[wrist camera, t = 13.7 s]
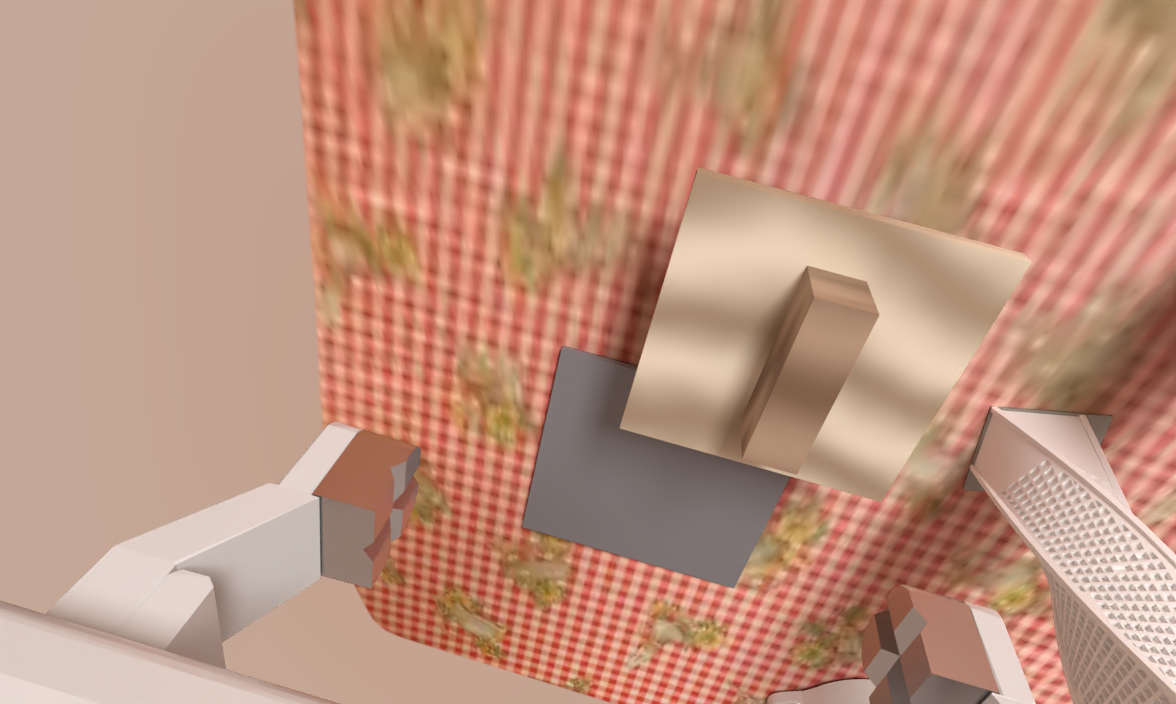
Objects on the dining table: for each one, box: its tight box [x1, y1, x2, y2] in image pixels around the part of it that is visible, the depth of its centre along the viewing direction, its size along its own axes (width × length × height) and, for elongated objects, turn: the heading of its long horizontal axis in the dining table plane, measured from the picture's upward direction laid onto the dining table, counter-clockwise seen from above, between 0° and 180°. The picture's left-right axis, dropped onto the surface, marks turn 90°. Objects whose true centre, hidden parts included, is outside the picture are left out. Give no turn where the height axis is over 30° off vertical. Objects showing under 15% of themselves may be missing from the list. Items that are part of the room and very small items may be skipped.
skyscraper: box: [963, 406, 1176, 704], centre depth 33 cm, size 8×8×28 cm
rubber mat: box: [522, 346, 791, 588], centre depth 51 cm, size 18×18×1 cm
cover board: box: [620, 167, 1032, 502], centre depth 35 cm, size 16×16×4 cm
